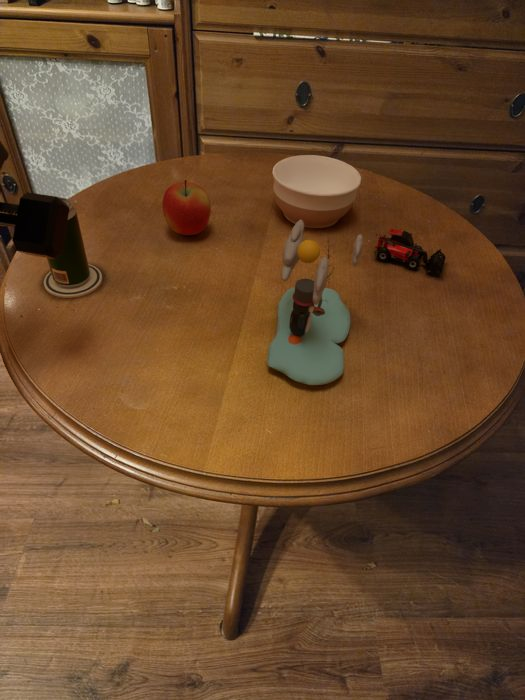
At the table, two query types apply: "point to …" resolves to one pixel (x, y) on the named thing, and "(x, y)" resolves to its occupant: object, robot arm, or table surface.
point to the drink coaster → (85, 289)
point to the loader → (408, 252)
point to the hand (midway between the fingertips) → (22, 235)
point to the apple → (186, 208)
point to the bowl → (314, 189)
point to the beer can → (71, 255)
